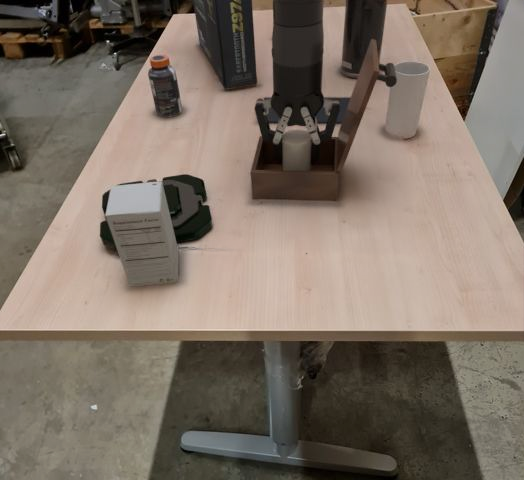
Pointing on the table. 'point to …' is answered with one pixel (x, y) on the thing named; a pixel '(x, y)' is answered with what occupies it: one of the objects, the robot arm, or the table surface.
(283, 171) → the bread bin
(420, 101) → the white cylindrical cup
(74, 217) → the table surface
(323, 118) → the mat
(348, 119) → the bin lid
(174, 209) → the clover-shaped pad
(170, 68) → the pill bottle
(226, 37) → the box
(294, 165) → the canister
